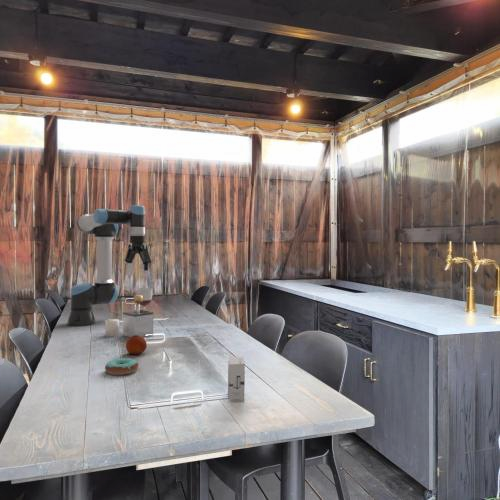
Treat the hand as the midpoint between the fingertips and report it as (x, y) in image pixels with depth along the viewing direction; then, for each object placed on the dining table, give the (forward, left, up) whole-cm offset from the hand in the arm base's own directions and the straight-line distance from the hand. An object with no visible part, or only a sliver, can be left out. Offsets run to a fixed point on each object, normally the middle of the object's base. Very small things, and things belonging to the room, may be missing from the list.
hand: (137, 276), depth 222 cm
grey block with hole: (+1, 0, -31) cm, 31 cm away
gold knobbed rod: (+1, 0, -29) cm, 29 cm away
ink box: (+100, -29, -31) cm, 109 cm away
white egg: (-9, -9, -31) cm, 33 cm away
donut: (+50, -39, -31) cm, 71 cm away
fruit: (+32, -21, -31) cm, 49 cm away
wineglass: (-13, +13, -31) cm, 36 cm away
